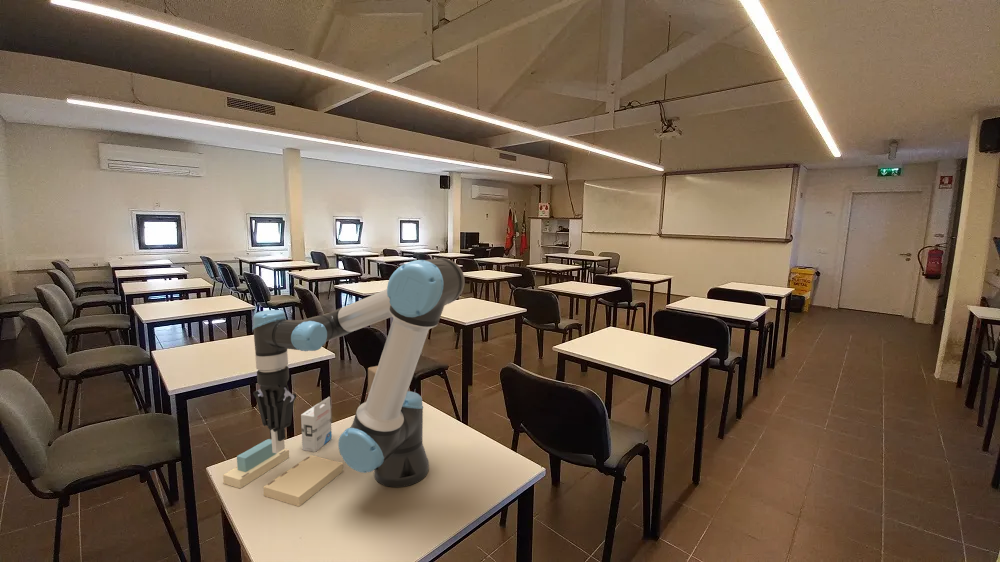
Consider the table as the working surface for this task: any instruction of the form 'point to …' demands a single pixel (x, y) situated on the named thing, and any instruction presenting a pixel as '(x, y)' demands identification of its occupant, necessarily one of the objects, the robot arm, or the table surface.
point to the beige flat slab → (303, 480)
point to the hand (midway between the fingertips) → (278, 450)
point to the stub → (254, 464)
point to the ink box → (316, 426)
